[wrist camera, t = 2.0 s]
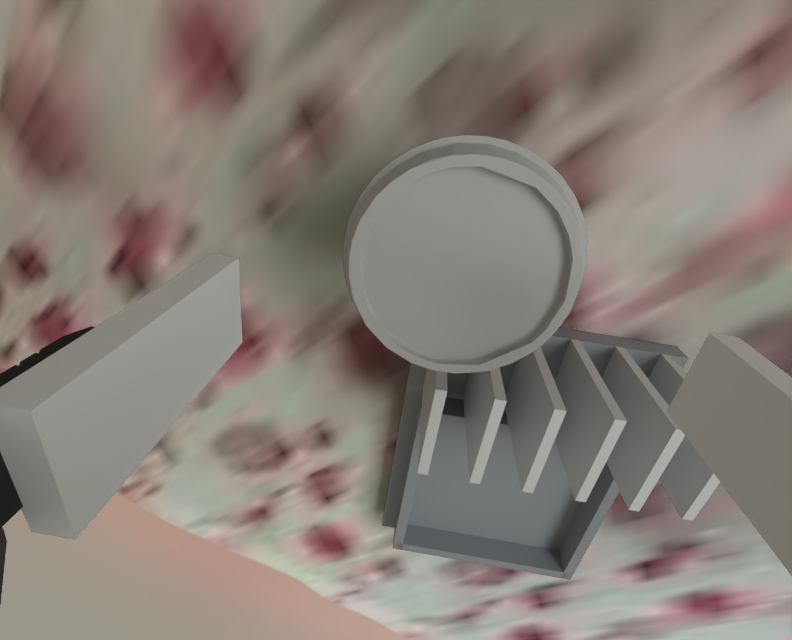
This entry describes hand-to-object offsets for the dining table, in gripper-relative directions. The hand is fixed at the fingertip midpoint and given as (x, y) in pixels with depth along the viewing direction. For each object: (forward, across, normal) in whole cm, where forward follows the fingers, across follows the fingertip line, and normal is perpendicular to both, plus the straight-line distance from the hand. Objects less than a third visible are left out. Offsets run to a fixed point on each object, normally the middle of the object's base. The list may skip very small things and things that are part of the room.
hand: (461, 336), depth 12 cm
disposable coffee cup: (+16, 0, 0) cm, 16 cm away
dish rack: (+16, +8, -18) cm, 25 cm away
